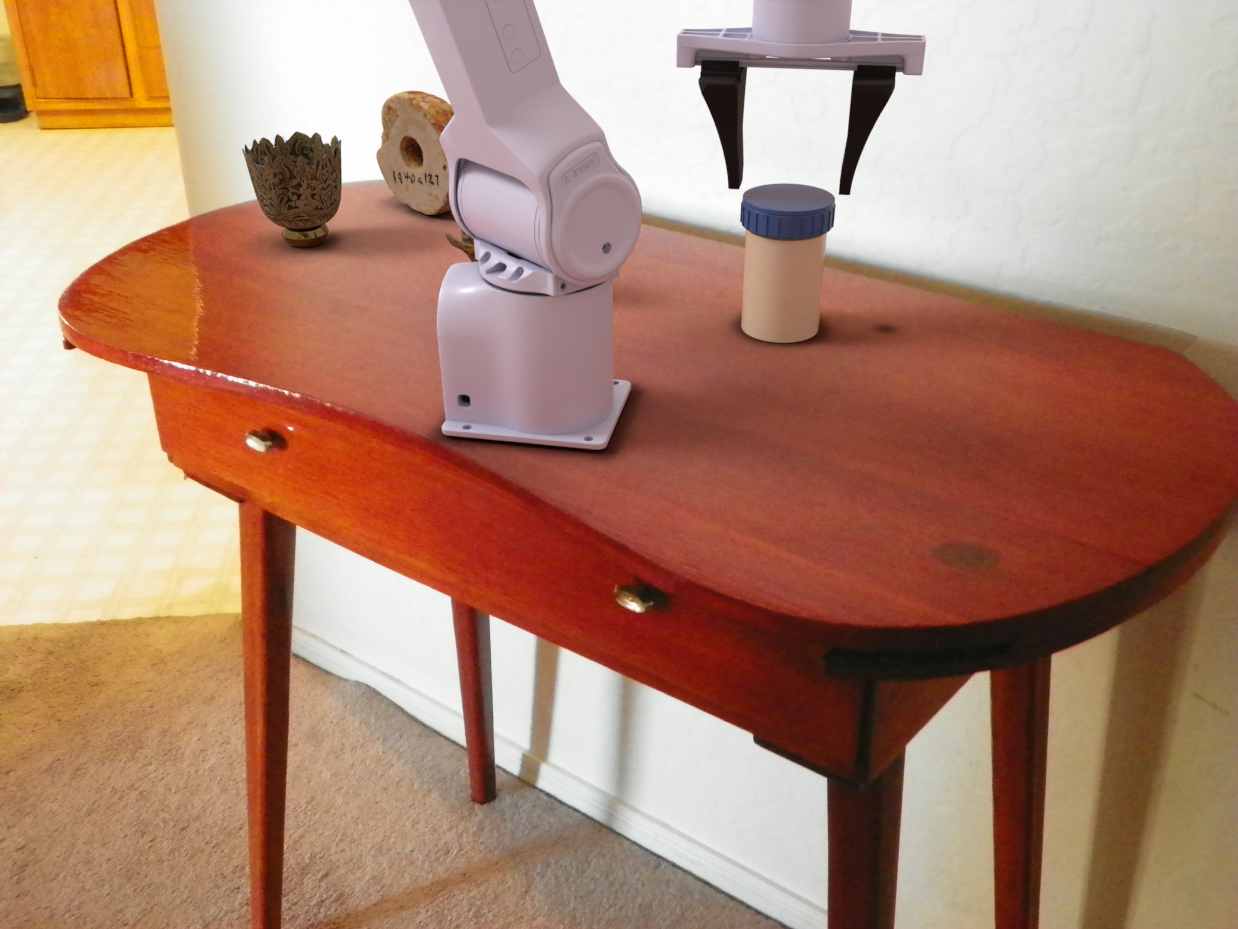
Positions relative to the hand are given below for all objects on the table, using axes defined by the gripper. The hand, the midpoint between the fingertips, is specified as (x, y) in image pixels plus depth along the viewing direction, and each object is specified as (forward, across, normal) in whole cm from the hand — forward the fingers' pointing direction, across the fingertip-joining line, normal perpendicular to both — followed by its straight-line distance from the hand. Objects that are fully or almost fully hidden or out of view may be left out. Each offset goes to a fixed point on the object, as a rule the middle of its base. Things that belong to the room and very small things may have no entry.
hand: (789, 187), depth 72 cm
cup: (+10, +39, -10) cm, 41 cm away
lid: (+1, 0, 0) cm, 1 cm away
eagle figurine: (+10, +19, -4) cm, 22 cm away
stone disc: (+10, +32, -20) cm, 39 cm away
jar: (+10, 0, 0) cm, 10 cm away
